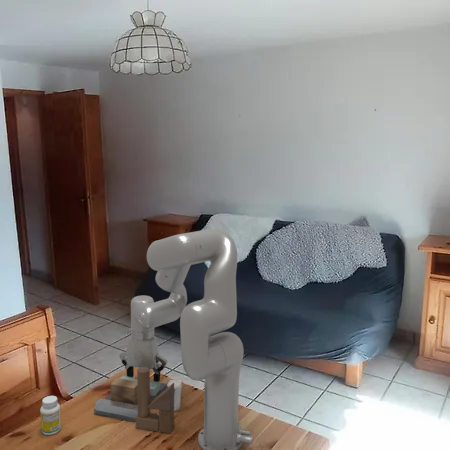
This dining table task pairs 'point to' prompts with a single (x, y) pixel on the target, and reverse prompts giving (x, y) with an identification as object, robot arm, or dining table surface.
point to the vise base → (162, 387)
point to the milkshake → (176, 392)
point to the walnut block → (124, 391)
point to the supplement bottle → (50, 415)
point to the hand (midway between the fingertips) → (143, 380)
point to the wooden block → (154, 405)
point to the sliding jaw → (153, 385)
